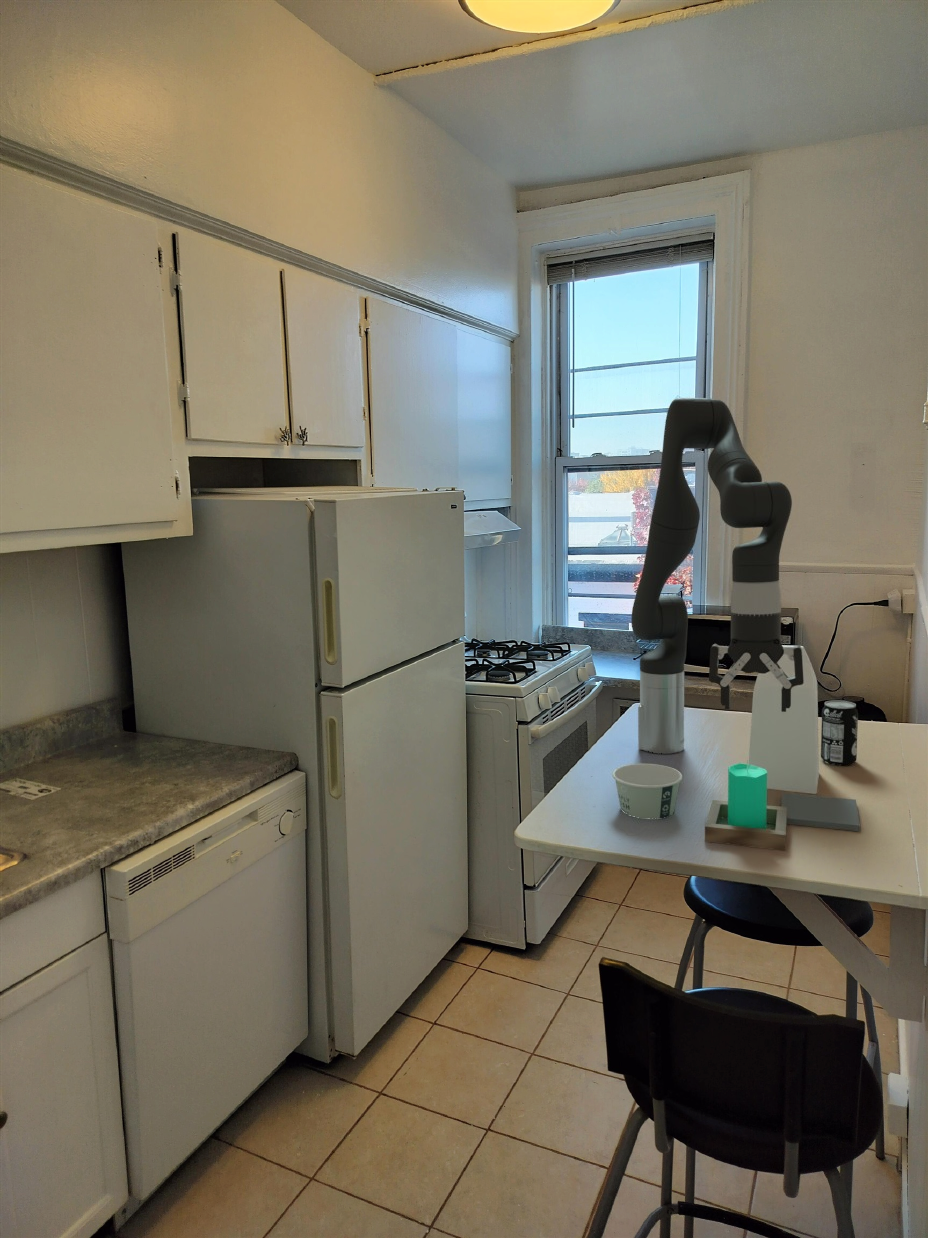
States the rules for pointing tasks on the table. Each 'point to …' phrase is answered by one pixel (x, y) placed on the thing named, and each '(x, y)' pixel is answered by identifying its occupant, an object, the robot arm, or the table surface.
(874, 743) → the table surface
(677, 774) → the food container
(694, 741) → the table surface
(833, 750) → the beverage can
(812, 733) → the milk
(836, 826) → the plate
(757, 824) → the candle
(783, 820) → the open wooden box
